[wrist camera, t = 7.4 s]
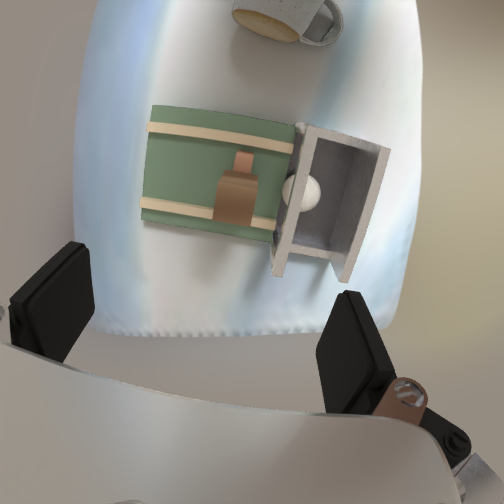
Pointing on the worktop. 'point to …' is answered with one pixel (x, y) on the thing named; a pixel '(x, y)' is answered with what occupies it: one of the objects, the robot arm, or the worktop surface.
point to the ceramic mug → (286, 19)
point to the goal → (328, 198)
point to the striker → (237, 192)
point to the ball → (310, 193)
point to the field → (211, 167)
